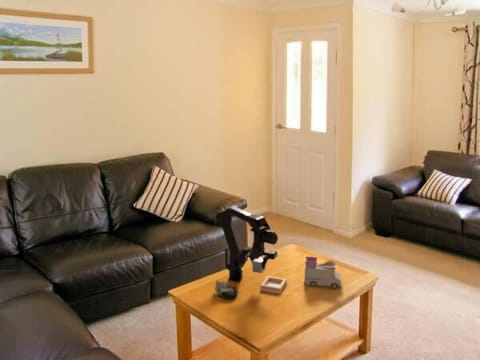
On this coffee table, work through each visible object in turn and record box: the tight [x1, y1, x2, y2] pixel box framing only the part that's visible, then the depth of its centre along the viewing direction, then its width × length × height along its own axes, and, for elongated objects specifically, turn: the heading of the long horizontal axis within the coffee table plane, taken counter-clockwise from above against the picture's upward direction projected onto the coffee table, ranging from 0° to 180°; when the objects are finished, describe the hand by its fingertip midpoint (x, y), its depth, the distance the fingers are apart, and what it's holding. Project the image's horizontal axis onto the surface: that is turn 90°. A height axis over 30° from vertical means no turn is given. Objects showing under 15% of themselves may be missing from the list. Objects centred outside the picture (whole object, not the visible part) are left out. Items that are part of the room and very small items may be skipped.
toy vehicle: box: [303, 256, 342, 290], centre depth 251 cm, size 9×20×15 cm, turn 78°
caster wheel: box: [214, 279, 239, 300], centre depth 242 cm, size 7×11×10 cm
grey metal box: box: [251, 256, 266, 274], centre depth 247 cm, size 5×6×6 cm
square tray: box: [259, 275, 288, 294], centre depth 251 cm, size 11×12×3 cm
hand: (259, 267), depth 248 cm, fingers closed on grey metal box, 5 cm apart
